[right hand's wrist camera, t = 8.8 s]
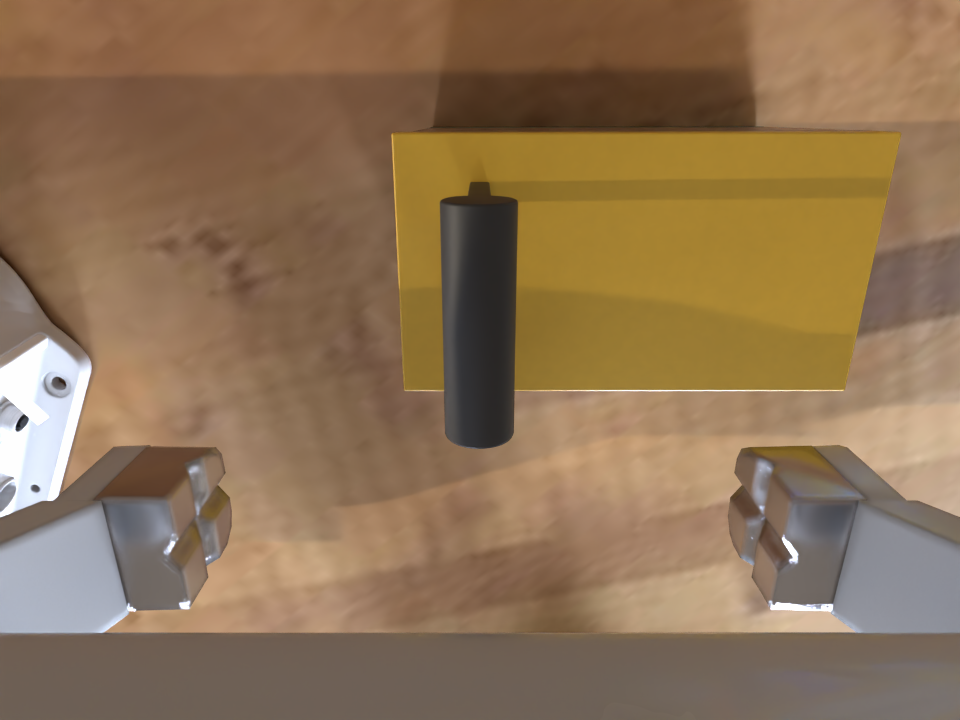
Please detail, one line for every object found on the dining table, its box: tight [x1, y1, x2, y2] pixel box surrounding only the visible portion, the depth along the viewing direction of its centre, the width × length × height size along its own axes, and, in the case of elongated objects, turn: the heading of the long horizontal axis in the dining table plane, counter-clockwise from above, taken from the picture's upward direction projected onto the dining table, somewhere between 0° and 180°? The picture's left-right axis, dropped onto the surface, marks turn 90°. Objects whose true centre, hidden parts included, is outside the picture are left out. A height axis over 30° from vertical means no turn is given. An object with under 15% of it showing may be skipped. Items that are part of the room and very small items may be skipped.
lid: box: [392, 131, 901, 449], centre depth 21 cm, size 18×10×9 cm, turn 90°
